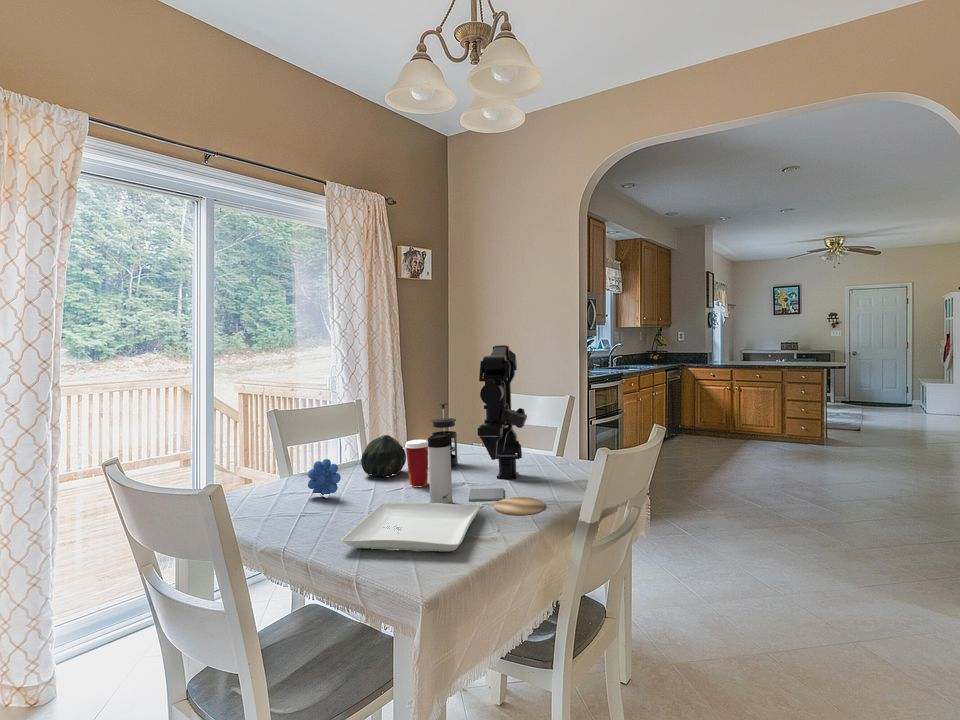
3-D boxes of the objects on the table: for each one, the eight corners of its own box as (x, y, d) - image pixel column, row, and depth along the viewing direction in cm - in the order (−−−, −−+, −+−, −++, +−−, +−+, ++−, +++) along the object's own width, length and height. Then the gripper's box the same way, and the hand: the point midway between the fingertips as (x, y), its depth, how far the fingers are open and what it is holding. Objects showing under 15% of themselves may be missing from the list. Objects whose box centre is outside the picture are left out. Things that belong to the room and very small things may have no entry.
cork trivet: (498, 497, 154) (498, 496, 154) (547, 499, 151) (547, 497, 151) (489, 514, 140) (489, 512, 140) (542, 516, 137) (542, 514, 137)
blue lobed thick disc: (349, 495, 162) (347, 456, 161) (336, 502, 156) (334, 461, 155) (318, 492, 166) (316, 454, 165) (303, 499, 160) (301, 459, 159)
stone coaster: (470, 490, 162) (470, 488, 162) (503, 489, 161) (503, 488, 161) (468, 501, 152) (468, 499, 152) (503, 500, 151) (503, 498, 151)
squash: (367, 453, 194) (361, 428, 183) (408, 453, 194) (405, 427, 184) (362, 487, 184) (356, 462, 173) (405, 487, 184) (402, 462, 174)
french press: (439, 461, 200) (437, 401, 199) (462, 462, 197) (460, 401, 196) (426, 469, 189) (423, 405, 188) (450, 471, 186) (448, 405, 185)
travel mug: (450, 508, 146) (447, 436, 145) (427, 507, 148) (424, 435, 147) (456, 500, 152) (453, 431, 151) (433, 500, 154) (431, 431, 153)
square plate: (460, 561, 113) (459, 543, 113) (339, 556, 118) (338, 539, 117) (482, 517, 139) (481, 502, 139) (382, 514, 144) (382, 500, 144)
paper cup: (435, 484, 170) (433, 440, 170) (417, 489, 165) (415, 445, 164) (419, 480, 176) (417, 438, 175) (401, 485, 170) (399, 442, 170)
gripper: (517, 404, 138) (519, 464, 139) (529, 397, 156) (531, 449, 157) (476, 405, 141) (478, 463, 142) (493, 397, 159) (494, 449, 160)
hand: (497, 456), depth 150 cm, fingers open, 9 cm apart
